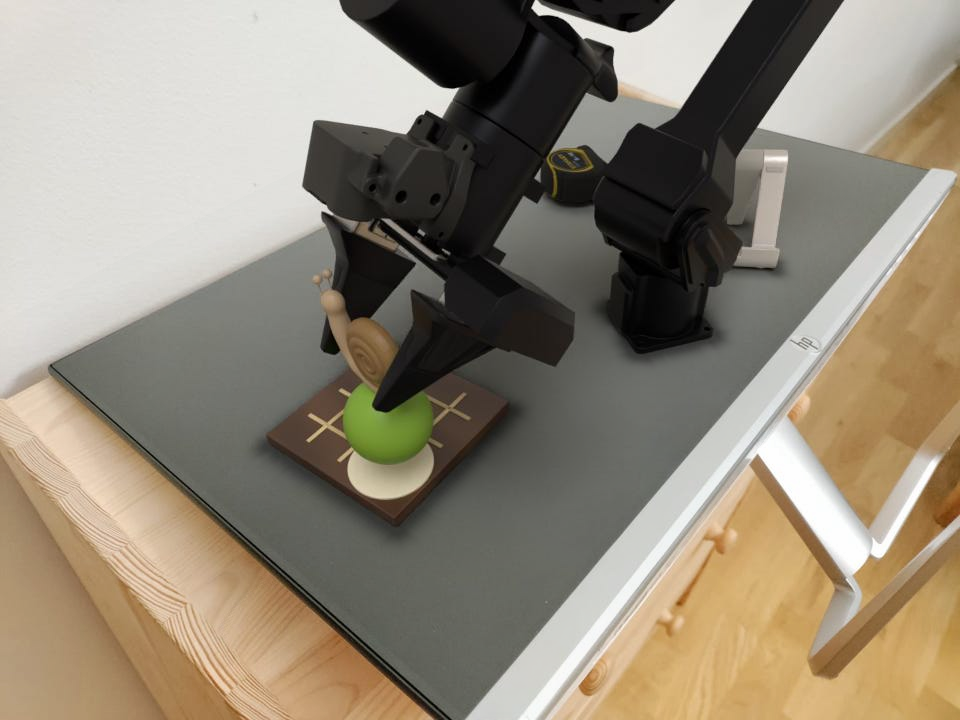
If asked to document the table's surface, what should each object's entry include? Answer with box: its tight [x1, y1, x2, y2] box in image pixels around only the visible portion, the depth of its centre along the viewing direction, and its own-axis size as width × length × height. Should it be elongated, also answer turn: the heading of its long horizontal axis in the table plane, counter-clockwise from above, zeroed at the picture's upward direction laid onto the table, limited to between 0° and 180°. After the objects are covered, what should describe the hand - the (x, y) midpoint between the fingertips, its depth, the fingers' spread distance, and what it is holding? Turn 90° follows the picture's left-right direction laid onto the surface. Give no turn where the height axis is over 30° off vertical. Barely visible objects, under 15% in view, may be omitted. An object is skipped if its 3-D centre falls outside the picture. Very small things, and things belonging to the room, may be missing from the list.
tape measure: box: [539, 144, 608, 204], centre depth 71 cm, size 7×7×4 cm
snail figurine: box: [312, 268, 434, 465], centre depth 41 cm, size 5×6×12 cm
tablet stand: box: [725, 148, 789, 269], centre depth 61 cm, size 9×8×8 cm
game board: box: [265, 346, 510, 527], centre depth 49 cm, size 12×12×1 cm
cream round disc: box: [348, 444, 434, 500], centre depth 46 cm, size 6×6×1 cm
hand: (351, 379), depth 40 cm, fingers closed on snail figurine, 6 cm apart
